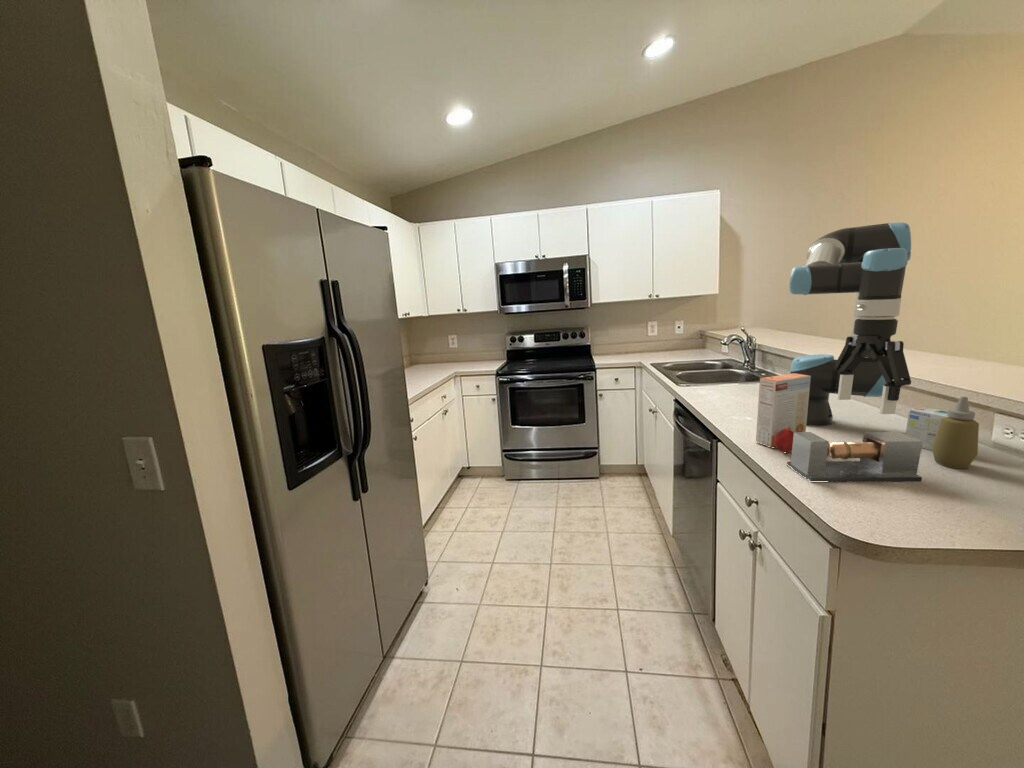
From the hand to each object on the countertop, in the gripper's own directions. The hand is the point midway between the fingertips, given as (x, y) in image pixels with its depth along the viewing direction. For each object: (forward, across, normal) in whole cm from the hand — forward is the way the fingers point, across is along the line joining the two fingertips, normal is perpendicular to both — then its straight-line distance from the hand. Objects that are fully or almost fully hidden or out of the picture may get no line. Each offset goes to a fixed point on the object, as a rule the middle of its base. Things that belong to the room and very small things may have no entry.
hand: (863, 406), depth 98 cm
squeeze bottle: (+18, -5, +27) cm, 33 cm away
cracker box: (+18, -23, -6) cm, 30 cm away
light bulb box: (+18, -17, +33) cm, 41 cm away
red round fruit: (+18, -14, -9) cm, 25 cm away
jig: (+18, 0, -1) cm, 18 cm away
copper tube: (+14, 0, +3) cm, 14 cm away
